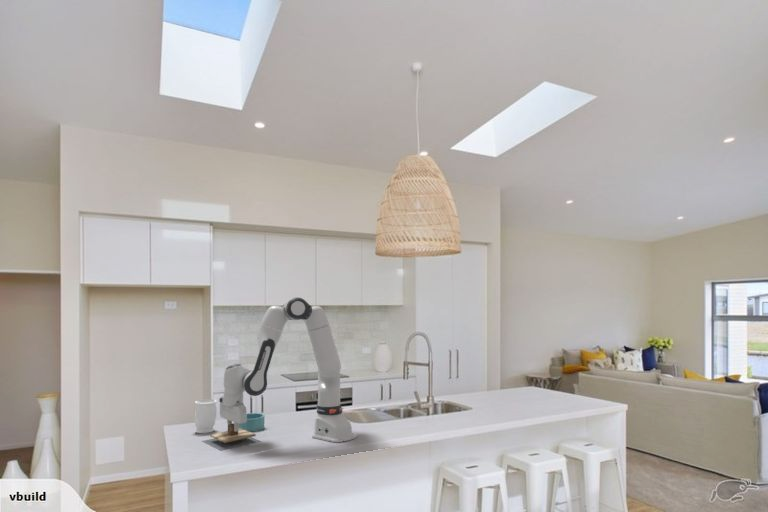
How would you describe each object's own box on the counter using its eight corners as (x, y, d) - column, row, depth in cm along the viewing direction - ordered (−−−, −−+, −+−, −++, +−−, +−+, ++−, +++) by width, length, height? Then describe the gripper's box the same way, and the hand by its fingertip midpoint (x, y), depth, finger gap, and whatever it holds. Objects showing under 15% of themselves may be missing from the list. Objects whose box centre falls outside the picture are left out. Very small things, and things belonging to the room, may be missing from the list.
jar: (206, 435, 236) (207, 403, 237) (189, 433, 239) (190, 402, 240) (220, 429, 246) (221, 399, 247) (203, 428, 249) (204, 398, 250)
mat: (261, 442, 223) (261, 441, 223) (220, 451, 209) (220, 450, 210) (241, 434, 238) (241, 433, 238) (201, 442, 224) (201, 441, 224)
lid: (255, 435, 224) (255, 424, 224) (224, 442, 213) (225, 430, 214) (240, 429, 234) (240, 418, 235) (210, 436, 224) (210, 424, 224)
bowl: (268, 429, 247) (269, 416, 247) (245, 434, 238) (245, 420, 238) (256, 424, 256) (256, 412, 257) (233, 429, 247) (233, 416, 248)
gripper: (250, 402, 220) (250, 433, 219) (229, 396, 235) (229, 425, 233) (237, 404, 216) (237, 436, 214) (217, 398, 230) (216, 427, 229)
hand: (233, 430), depth 224 cm, fingers closed on lid, 3 cm apart
